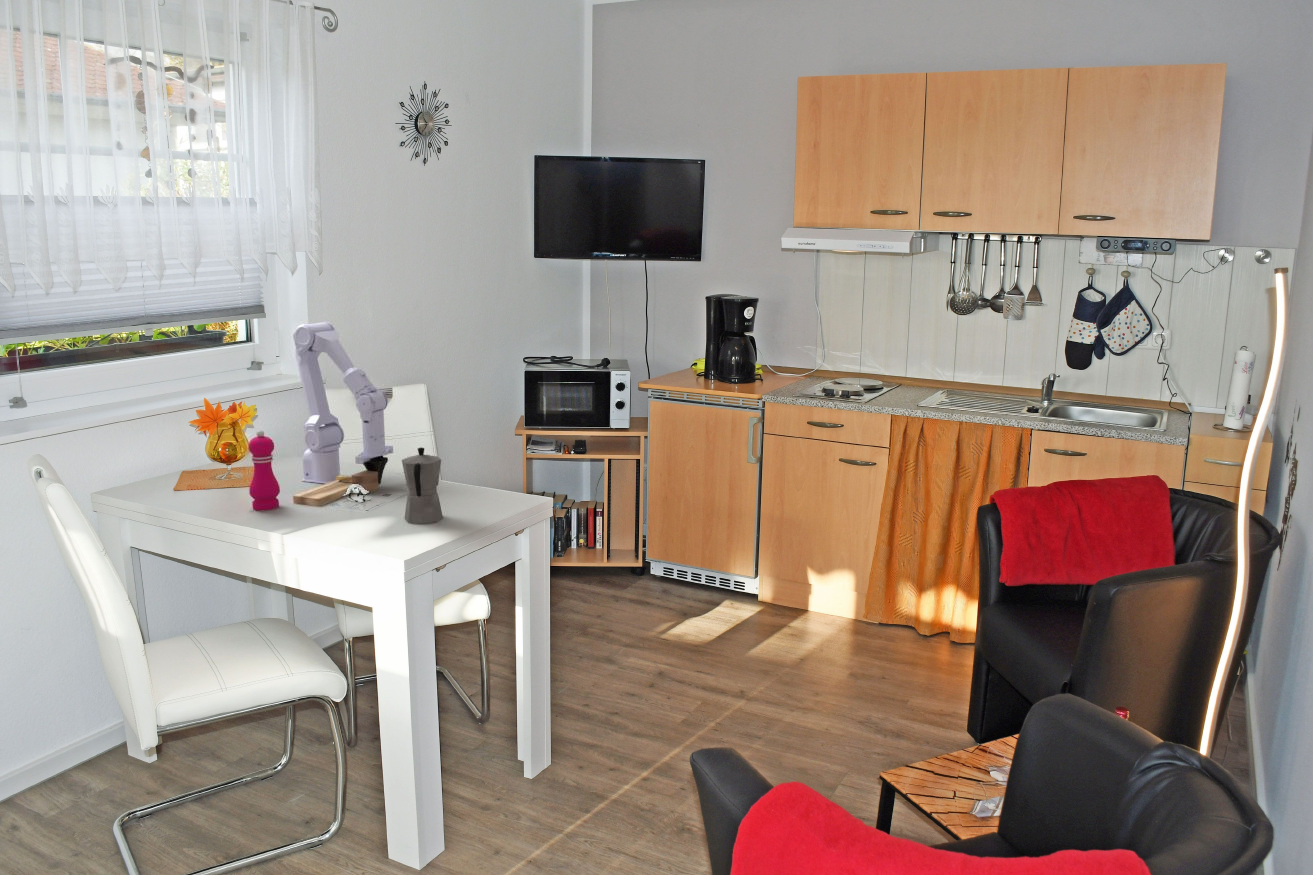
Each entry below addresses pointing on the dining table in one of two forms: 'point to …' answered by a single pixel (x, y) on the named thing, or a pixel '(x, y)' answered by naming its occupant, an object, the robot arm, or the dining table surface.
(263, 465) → the pepper mill
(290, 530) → the dining table surface
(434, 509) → the coffeepot
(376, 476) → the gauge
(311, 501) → the board
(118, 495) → the dining table surface
